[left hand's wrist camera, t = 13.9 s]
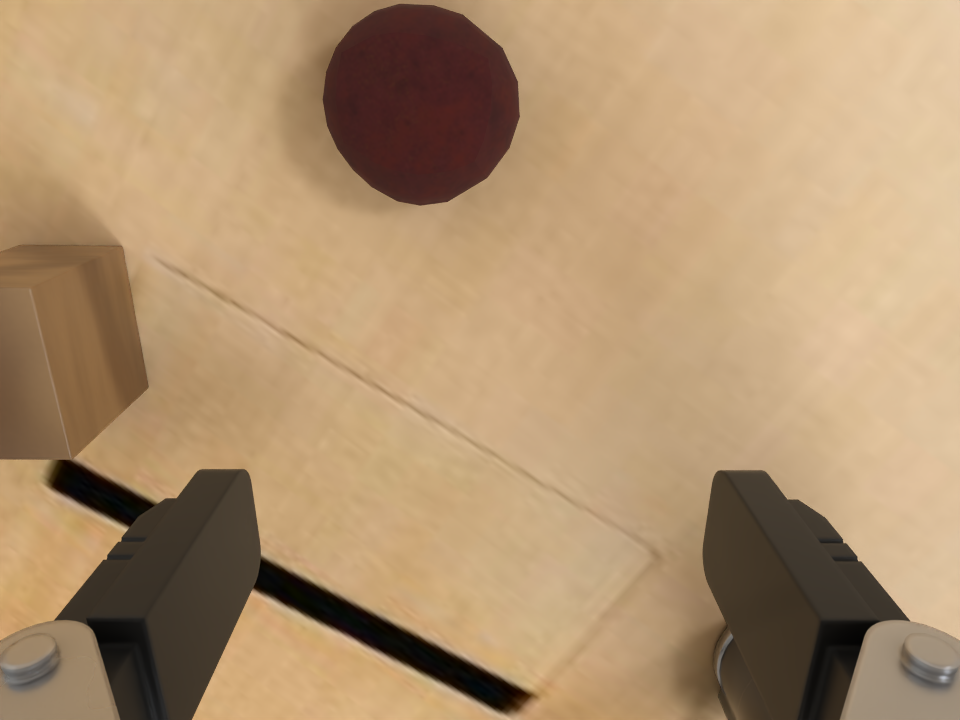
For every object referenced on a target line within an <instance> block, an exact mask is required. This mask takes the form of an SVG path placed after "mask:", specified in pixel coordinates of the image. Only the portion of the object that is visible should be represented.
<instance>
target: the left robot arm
mask: <svg viewBox="0 0 960 720" xmlns="http://www.w3.org/2000/svg"><path fill="white" fill-rule="evenodd" d="M260 557H261V548H260V539H259V532H258V525H257V518H256V511H255V504H254V498H253V491H252V484H251V479H250V476H249V473H248V472H247V471H246V470H244V469H201V470H199V471H197V473H196V474H195V475H194V476H193V478H192V479H191V480H190V482H189V483H188V484H187V486H186V487H185V488H184V489H183V491H182V492H181V493H180V495H179V496H178V497H177V498H166V499H164V500H163V501H161V502H160V503H158V504H157V505H155V506H154V507H152V508H151V509H149V510H148V511H146V512H145V513H143V514H142V515H140V516H139V517H138V518H137V519H136V521H135V522H134V523H133V524H132V526H131V527H130V528H129V529H128V530H127V532H126V533H125V534H124V535H123V537H122V541H121V542H118V543H117V544H116V545H115V546H114V548H113V549H112V550H111V551H110V553H109V554H108V555H107V560H103V561H102V562H101V564H100V565H99V566H98V567H97V568H96V570H95V571H94V572H93V573H92V575H91V576H90V577H89V578H88V579H87V581H86V582H85V583H84V584H83V586H82V587H81V588H80V589H79V591H78V592H77V593H76V594H75V595H74V597H73V598H72V599H71V600H70V602H69V603H68V604H67V605H66V606H65V608H64V609H63V610H62V611H61V613H60V614H59V615H58V616H57V618H56V619H55V620H54V621H49V622H44V623H40V624H36V625H33V626H30V627H27V628H25V629H22V630H20V631H18V632H15V633H13V634H11V635H9V636H8V637H6V638H4V639H2V640H1V641H0V720H192V718H193V716H194V714H195V712H196V709H197V707H198V705H199V703H200V701H201V699H202V696H203V694H204V692H205V690H206V688H207V686H208V684H209V681H210V679H211V677H212V675H213V673H214V671H215V668H216V666H217V664H218V662H219V660H220V658H221V655H222V653H223V651H224V649H225V647H226V645H227V643H228V640H229V638H230V636H231V634H232V632H233V630H234V627H235V625H236V623H237V621H238V619H239V617H240V615H241V612H242V610H243V608H244V606H245V604H246V602H247V599H248V597H249V595H250V593H251V591H252V589H253V586H254V584H255V582H256V579H257V576H258V572H259V566H260ZM703 565H704V571H705V576H706V579H707V582H708V585H709V587H710V589H711V591H712V593H713V595H714V598H715V600H716V602H717V604H718V606H719V608H720V610H721V613H722V615H723V617H724V619H725V621H726V623H727V625H728V627H727V628H726V630H725V631H724V632H723V634H722V635H721V637H720V639H719V641H718V643H717V645H716V648H715V652H714V658H713V666H714V671H715V675H716V677H717V680H718V682H719V684H720V687H721V690H720V692H719V695H718V698H719V700H720V703H721V705H722V708H723V710H724V712H725V715H726V717H727V720H960V641H959V640H958V639H956V638H954V637H952V636H951V635H949V634H947V633H945V632H942V631H940V630H938V629H935V628H933V627H930V626H927V625H924V624H920V623H916V622H911V621H910V620H909V619H908V618H907V617H906V615H905V614H904V613H903V612H902V610H901V609H900V608H899V607H898V606H897V604H896V603H895V602H894V601H893V599H892V598H891V597H890V596H889V595H888V593H887V592H886V591H885V590H884V589H883V587H882V586H881V585H880V584H879V582H878V581H877V580H876V579H875V578H874V576H873V575H872V574H871V573H870V572H869V570H868V569H867V568H866V567H865V565H864V564H863V563H862V562H861V561H858V560H857V556H856V554H855V553H854V552H853V551H852V550H851V548H850V547H849V546H848V545H847V544H846V543H843V539H842V537H841V536H840V535H839V534H838V533H837V531H836V530H835V529H834V528H833V527H832V525H831V524H830V523H829V522H828V520H827V519H826V518H825V517H823V516H822V515H820V514H819V513H817V512H816V511H814V510H813V509H811V508H810V507H808V506H807V505H805V504H804V503H802V502H801V501H799V500H787V498H786V497H785V496H784V495H783V493H782V492H781V491H780V489H779V488H778V487H777V485H776V484H775V483H774V481H773V480H772V479H771V478H770V476H769V475H768V474H767V473H766V472H765V471H762V470H720V471H718V472H716V474H715V476H714V478H713V482H712V488H711V495H710V502H709V509H708V515H707V522H706V529H705V536H704V542H703Z"/></svg>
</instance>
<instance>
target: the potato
mask: <svg viewBox="0 0 960 720" xmlns="http://www.w3.org/2000/svg"><path fill="white" fill-rule="evenodd" d="M323 104H324V109H325V115H326V121H327V126H328V129H329V131H330V133H331V135H332V137H333V140H334V142H335V144H336V146H337V149H338V150H339V151H340V153H341V154H342V155H343V157H344V158H345V160H346V161H347V162H348V164H349V165H350V166H351V168H352V169H353V170H354V171H355V172H356V173H357V174H358V175H359V176H361V177H362V178H363V179H364V180H365V181H366V182H367V183H368V184H369V185H370V186H371V187H373V188H375V189H376V190H378V191H380V192H382V193H384V194H385V195H387V196H389V197H391V198H393V199H394V200H396V201H399V202H404V203H410V204H415V205H427V204H435V203H442V202H448V201H450V200H451V199H453V198H455V197H456V196H458V195H460V194H461V193H463V192H465V191H466V190H468V189H469V188H471V187H473V186H474V185H476V184H478V183H479V182H481V181H483V180H484V179H486V178H487V177H488V176H489V175H490V173H491V172H492V171H493V169H494V168H495V167H496V165H497V164H498V163H499V161H500V160H501V158H502V157H503V156H504V154H505V153H506V152H507V150H508V149H509V148H510V144H511V141H512V138H513V135H514V132H515V129H516V126H517V123H518V120H519V117H520V115H519V97H518V81H517V79H516V77H515V75H514V72H513V70H512V68H511V66H510V64H509V61H508V59H507V57H506V55H505V53H504V50H503V48H502V47H501V46H499V45H498V44H497V43H496V42H495V41H493V40H492V39H491V38H490V37H489V36H487V35H486V34H485V33H484V32H483V31H482V30H480V29H479V28H478V27H477V26H476V25H474V24H473V23H472V22H471V21H470V20H468V19H467V18H466V17H465V16H464V15H462V14H459V13H456V12H453V11H449V10H446V9H443V8H440V7H437V6H434V5H412V4H398V5H394V6H391V7H387V8H384V9H380V10H377V11H374V12H373V13H371V14H370V15H368V16H367V17H365V18H364V19H362V20H361V21H359V22H358V23H356V24H355V25H353V26H352V28H351V29H350V30H349V32H348V33H347V34H346V35H345V37H344V38H343V39H342V41H341V42H340V43H339V44H338V46H337V47H336V49H335V52H334V54H333V57H332V59H331V62H330V64H329V66H328V69H327V71H326V79H325V87H324V95H323Z"/></svg>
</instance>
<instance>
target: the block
mask: <svg viewBox="0 0 960 720" xmlns="http://www.w3.org/2000/svg"><path fill="white" fill-rule="evenodd" d="M147 389H148V382H147V377H146V371H145V366H144V360H143V355H142V350H141V344H140V339H139V333H138V328H137V323H136V317H135V312H134V307H133V301H132V296H131V290H130V285H129V280H128V274H127V269H126V263H125V258H124V253H123V248H122V247H121V246H60V245H19V246H16V247H13V248H10V249H8V250H5V251H2V252H0V459H55V460H71V459H73V458H74V457H75V456H76V455H77V454H78V453H79V452H81V451H82V450H83V449H84V448H85V447H86V446H87V445H88V444H89V443H90V442H91V441H92V440H93V439H94V438H95V437H97V436H98V435H99V434H100V433H101V432H102V431H103V430H104V429H105V428H106V427H107V426H108V425H109V424H110V423H111V422H113V421H114V420H115V419H116V418H117V417H118V416H119V415H120V414H121V413H122V412H123V411H124V410H125V409H126V408H127V407H128V406H130V405H131V404H132V403H133V402H134V401H135V400H136V399H137V398H138V397H139V396H140V395H141V394H142V393H143V392H144V391H146V390H147Z"/></svg>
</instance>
